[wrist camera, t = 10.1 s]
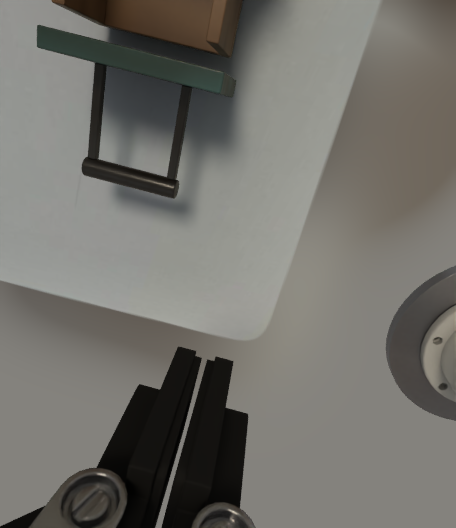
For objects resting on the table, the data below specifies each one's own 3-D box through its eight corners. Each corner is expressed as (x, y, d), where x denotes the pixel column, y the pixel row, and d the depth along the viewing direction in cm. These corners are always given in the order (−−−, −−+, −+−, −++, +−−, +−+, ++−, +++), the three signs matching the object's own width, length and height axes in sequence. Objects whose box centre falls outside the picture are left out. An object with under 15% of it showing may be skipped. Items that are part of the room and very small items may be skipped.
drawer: (211, 195, 31) (195, 216, 25) (81, 161, 32) (33, 174, 25) (283, -137, 23) (286, -229, 17) (105, -180, 23) (42, -287, 17)
